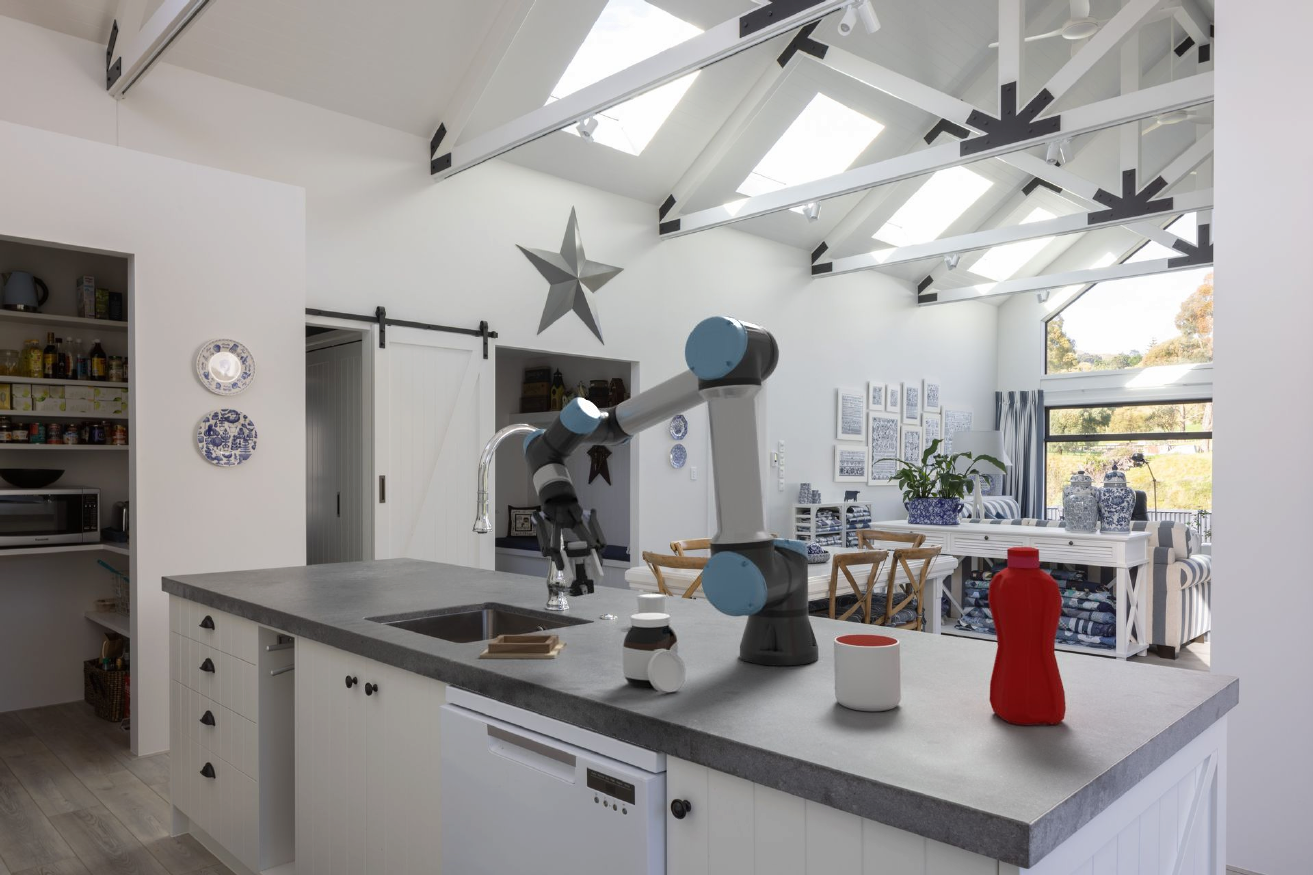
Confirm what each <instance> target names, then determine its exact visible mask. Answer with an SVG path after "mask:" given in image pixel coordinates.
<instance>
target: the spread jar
mask: <svg viewBox="0 0 1313 875" xmlns="http://www.w3.org/2000/svg"><path fill="white" fill-rule="evenodd" d="M670 624H671V616H670V614H668V613H665V614H663V613H640V614H639V613H634V614H632V615H630V625H631V626H630V628H629V629H628V631H627V633H626V634H625V637H624V639H623V646H622V647H623V648H622V666H623V667H622V670H623V676H624V679H625V681H627V683H628V684H629V685H631V686H632V687H635V688H638V689H639V688H640V689H647V690H648V689H650V690H653V689H655V690H657V691H658V692H659V693H663V694H668V693H674V692H676V691H678V690H679V689H681V687H682V686H683V685H684V683H685V680H686V674H687V672H686V667H685V662H684V660H683V659H682V657H681V656H680V655H679V646H678V644H679V643H678V636H677V633H676V632H675V630H674V629H673V628H672V627H671V626H670Z"/></svg>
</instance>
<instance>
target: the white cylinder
mask: <svg viewBox="0 0 1313 875" xmlns="http://www.w3.org/2000/svg"><path fill="white" fill-rule="evenodd" d="M636 598H637V608H638V614H640V613H663V614H666V603H667V595H666V594H665V593H664V594H663V593H654V592H653V593H651V592H650V593H642V594H638V595H637V596H636Z"/></svg>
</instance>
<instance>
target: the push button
mask: <svg viewBox="0 0 1313 875" xmlns="http://www.w3.org/2000/svg"><path fill="white" fill-rule="evenodd" d="M590 549H592V548H591V546H588V545H587V542H586V541H571V542H568V543H567V547H565V548H563V551H565V552H566V555H567V558H568V561H569V564H570V567H571V570H572V574H573V577H574V578H573V581H572V584H571V586H570V587H567V589H563V590H562V591H564V592H565V591H567V593H565V594H563V596H569V597H572V598H573V597H576V598H577V597H580V596H584V595H590V594H594V593H595V582H594V581H595V580H593V579H592V578H590V575H589V567H588V556H589V555H591V550H590Z"/></svg>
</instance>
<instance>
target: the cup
mask: <svg viewBox="0 0 1313 875" xmlns="http://www.w3.org/2000/svg"><path fill="white" fill-rule="evenodd" d="M900 643H901V642H900V641H899V639H897V638H894V637H893V636H892V637H891V636H888V635H880V634H871V633H869V634H866V633H863V634H861V633H858V634H857V633H855V634H854V633H853V634H845V635H839V636H837V637H835V638H834V639H833V650H834V651H833V654H834V655H833V659H834V663H833V665H834V667H833V668H834V696H835V699H836V701H837V702H838V704H840V705H841V706H843V707H845V708H848V709H851V710H854V711H860V712H861V711H862V712H884V711H888V710H892V709H894V708H896V707H897V706H898V705H899V704H900V702H901V700H902V691H901V690H902V688H901V685H902V684H901V644H900Z"/></svg>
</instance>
